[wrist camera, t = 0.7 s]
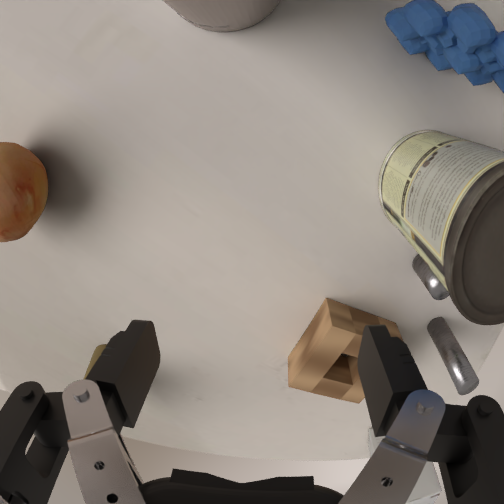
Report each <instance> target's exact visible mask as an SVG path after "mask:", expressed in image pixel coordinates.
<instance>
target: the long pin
mask: <svg viewBox="0 0 504 504" xmlns="http://www.w3.org/2000/svg"><path fill="white" fill-rule="evenodd" d="M427 330H428V332H429V334H430V336H431V338H432V340H433V342H434V344H435V345H436V347H437V349H438V351H439V353H440V355H441V357H442V359H443V361H444V363H445V366H446V368H447V370H448V372H449V374H450V376H451V378H452V380H453V382H454V384H455V387H456V389H457V391H458V393H459V394H460V395H465V394H468V393H470V392H471V391H473V390H474V389H475V388H476V387H477V386H478V384H479V379H478V377H477V376H476V374H475V372H474V370H473V368H472V366H471V364H470V363H469V361H468V359H467V357H466V355H465V354H464V352H463V350H462V348H461V347H460V345H459V343H458V341H457V340H456V338H455V336H454V335H453V333H452V331H451V330H450V328H449V326H448V325H447V323H446V321H445V320H444V318H442V317H437V318H434V319H433V320H432V321H430V323H429V324H428V327H427Z"/></svg>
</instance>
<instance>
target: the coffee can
mask: <svg viewBox="0 0 504 504" xmlns="http://www.w3.org/2000/svg"><path fill="white" fill-rule="evenodd" d="M378 190H379V199H380V203H381V206H382V209H383V211H384V213H385V215H386V216H387V218H388V219H389V221H390V222H391V223H392V224H393V225H394V226H395V227H396V228H398V229H399V231H400V232H401V233H402V234H403V236H404V237H405V238H406V239H407V240H408V242H409V243H410V244H411V245H412V246H413V247H414V249H415V250H416V251H417V252H418V254H419V255H420V256H421V257H422V258H423V260H424V261H425V263H426V264H427V265H428V266H429V267H430V269H431V270H432V272H433V273H434V274H435V275H436V276H437V278H438V279H439V280H440V282H441V283H442V284H443V286H444V287H445V288H446V290H447V291H448V292H449V295H450V297H451V299H452V301H453V303H454V304H455V306H456V308H457V309H458V311H459V312H460V313H461V314H462V315H463V316H464V317H465V318H466V319H468V320H469V321H471V322H473V323H476V324H480V325H495V324H500V323H504V152H503V151H500V150H497V149H494V148H491V147H488V146H485V145H481V144H478V143H474V142H471V141H468V140H464V139H461V138H457V137H453V136H450V135H446V134H444V133H441V132H438V131H433V130H423V131H418V132H414V133H412V134H409V135H407V136H405V137H403V138H402V139H401V140H400V141H398V142H397V143H396V144H395V145H394V146H393V147H392V149H391V150H390V151H389V153H388V154H387V156H386V158H385V160H384V162H383V165H382V168H381V171H380V174H379V184H378Z"/></svg>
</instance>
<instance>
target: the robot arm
mask: <svg viewBox="0 0 504 504" xmlns="http://www.w3.org/2000/svg"><path fill="white" fill-rule="evenodd" d="M163 1H164V2H165V3H166V4H168V5H169V6H170V7H171V8H172V9H173V10H175V11H176V12H177V14H179V15H180V16H181V17H182V18H184V19H185V20H187V21H188V22H190V23H191V24H193V25H195V26H197V27H199V28H202V29H205V30H210V31H215V32H230V31H236V30H241V29H244V28H247V27H250V26H253V25H254V24H256V23H258V22H260V21H262V20H263V19H264V18H265V17H267V16H268V15H269V14H270V13H271V12H272V11H273V10H274V8H275V7H276V6H277V5H278V2H279V0H163ZM159 364H160V350H159V346H158V341H157V337H156V332H155V328H154V324H153V322H152V321H144V320H132V321H131V323H130V324H129V326H128V328H127V329H126V331H120V332H119V333H117V334H116V335H115V336H113V337H112V338H111V339H110V341H109V342H108V344H107V345H106V348H105V349H104V350H103V352H102V353H101V356H99V358H98V359H97V361H96V362H95V364H94V366H93V367H92V369H91V370H90V372H89V374H88V375H87V377H86V378H85V379H83V380H77V381H74V382H72V383H71V384H69V385H68V386H67V387H66V388H65V389H64V391H63V392H50V393H45V391H44V389H43V388H42V386H41V385H40V384H39V383H37V382H33V381H29V382H25V383H22V384H20V385H19V386H17V387H16V388H15V389H14V391H13V392H12V394H11V395H10V397H9V398H8V400H7V401H6V403H5V404H4V406H3V407H2V409H1V411H0V504H47V503H48V500H49V498H50V495H51V492H52V490H53V487H54V485H55V482H56V479H57V477H58V475H59V472H60V469H61V467H62V465H63V462H64V460H65V458H66V455H67V453H68V451H70V455H71V459H72V462H73V466H74V469H75V473H76V476H77V479H78V482H79V485H80V489H81V492H82V495H83V497H84V500H85V503H86V504H405V503H406V502H407V500H408V498H409V496H410V494H411V492H412V491H413V489H414V487H415V485H416V483H417V481H418V479H419V477H420V475H421V473H422V470H423V468H424V466H425V464H426V462H427V461H428V462H438V464H439V467H440V471H441V475H442V479H443V484H444V488H445V492H446V496H447V501H448V504H504V413H503V411H502V409H501V407H500V405H499V404H498V402H496V401H495V400H494V399H493V398H491V397H488V396H485V395H478V396H475V397H473V398H472V399H471V400H470V401H469V402H468V405H467V406H460V405H450V404H445V402H444V400H443V399H442V398H441V396H439V395H438V394H437V393H435V392H433V391H430V390H428V389H427V387H426V384H425V382H424V380H423V378H422V376H421V374H420V372H419V369H418V367H417V365H416V363H415V361H414V359H413V357H412V356H411V353H410V351H409V349H408V347H407V345H406V344H405V343H404V342H403V341H402V340H401V339H400V338H398V337H391V336H390V333H389V331H388V329H387V327H386V325H385V324H380V325H366V326H365V327H364V330H363V335H362V340H361V345H360V349H359V354H358V361H357V366H358V373H359V377H360V380H361V384H362V388H363V392H364V395H365V399H366V403H367V407H368V411H369V415H370V419H371V423H372V427H373V431H374V435H375V437H382V436H385V438H383V439H382V441H381V442H380V444H379V445H378V447H377V448H376V450H375V452H374V453H373V455H372V456H371V458H370V459H369V461H368V462H367V464H366V465H365V467H364V469H363V470H362V471H361V473H360V474H359V476H358V477H357V479H356V480H355V481H354V483H353V484H352V485H351V487H350V488H349V490H348V491H347V492H346V494H345V495H342V494H340V493H339V492H337V491H334V490H332V489H329V488H326V487H322V486H319V485H314V479H313V476H304V477H275V478H270V479H265V480H260V481H254V482H248V483H237V482H233V481H230V480H227V479H224V478H220V477H217V476H214V475H211V474H208V473H202V472H194V471H186V470H179V469H173V471H172V475H171V477H166V478H160V479H156V480H152V481H149V482H147V483H144V482H143V480H142V479H141V477H140V475H139V473H138V471H137V469H136V467H135V465H134V462H133V460H132V458H131V456H130V454H129V451H128V449H127V447H126V445H125V442H124V440H123V438H122V435H121V434H120V432H121V430H122V427H123V426H125V427H130V428H134V426H135V423H136V421H137V418H138V416H139V414H140V411H141V409H142V406H143V404H144V401H145V399H146V396H147V394H148V392H149V389H150V387H151V384H152V382H153V379H154V377H155V375H156V372H157V370H158V368H159ZM33 433H34V435H35V438H34V440H33V442H32V444H31V446H30V448H29V450H28V452H27V454H26V455H25V450H26V447H27V445H28V443H29V441H30V439H31V437H32V435H33Z"/></svg>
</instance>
